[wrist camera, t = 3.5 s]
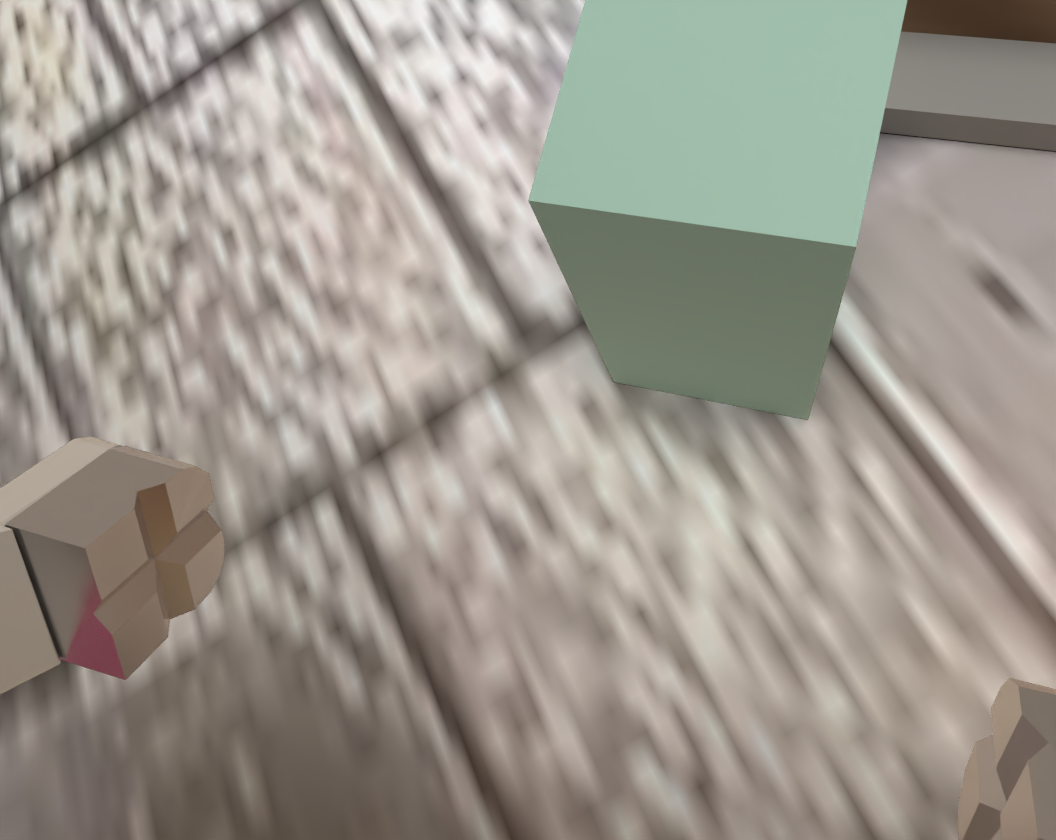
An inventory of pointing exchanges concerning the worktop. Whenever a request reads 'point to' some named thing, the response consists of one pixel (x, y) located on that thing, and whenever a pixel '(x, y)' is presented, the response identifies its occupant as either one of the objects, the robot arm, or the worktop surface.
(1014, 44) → the board
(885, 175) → the worktop surface
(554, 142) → the pillar
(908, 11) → the base block
